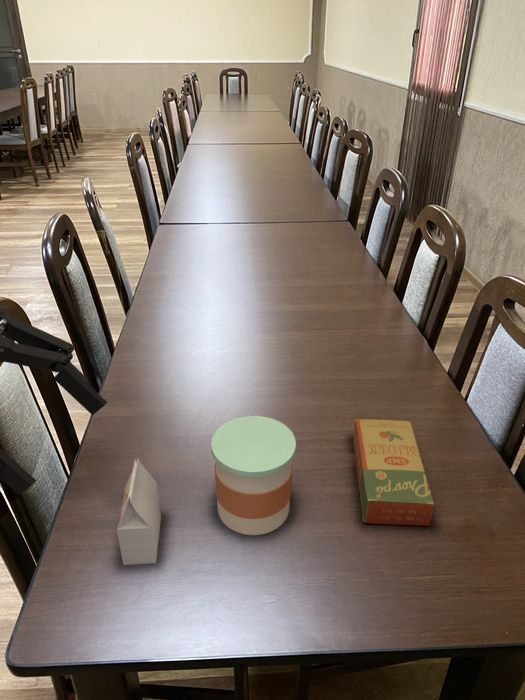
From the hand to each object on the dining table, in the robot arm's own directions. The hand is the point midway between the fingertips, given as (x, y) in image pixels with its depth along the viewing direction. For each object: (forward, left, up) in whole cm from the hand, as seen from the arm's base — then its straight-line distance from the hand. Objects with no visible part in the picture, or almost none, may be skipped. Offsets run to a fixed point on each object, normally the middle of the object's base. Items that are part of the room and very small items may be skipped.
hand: (67, 445), depth 60 cm
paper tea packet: (+8, 0, -13) cm, 15 cm away
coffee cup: (+19, +9, -13) cm, 24 cm away
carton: (+35, +19, -13) cm, 42 cm away
